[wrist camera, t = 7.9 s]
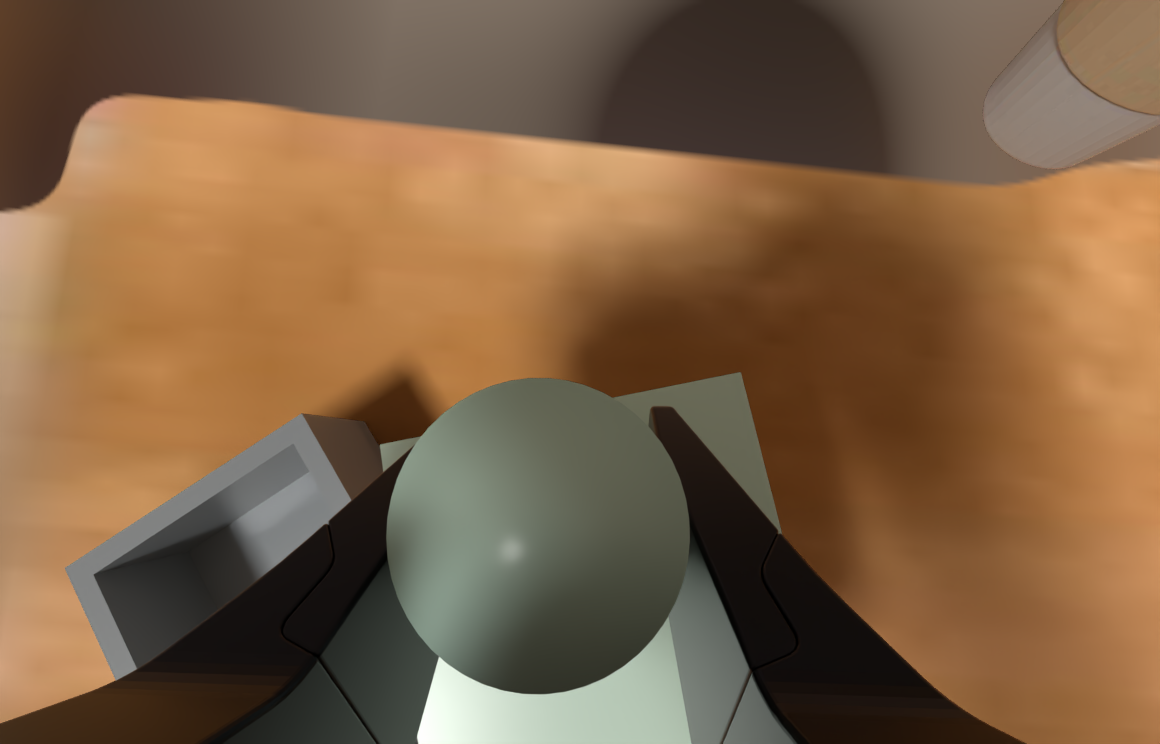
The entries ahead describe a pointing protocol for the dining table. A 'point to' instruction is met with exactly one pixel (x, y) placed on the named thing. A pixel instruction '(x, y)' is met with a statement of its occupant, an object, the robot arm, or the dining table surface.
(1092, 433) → the dining table surface
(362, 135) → the dining table surface
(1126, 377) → the dining table surface
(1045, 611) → the dining table surface
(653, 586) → the pale green stand
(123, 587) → the parts tub
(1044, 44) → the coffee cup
